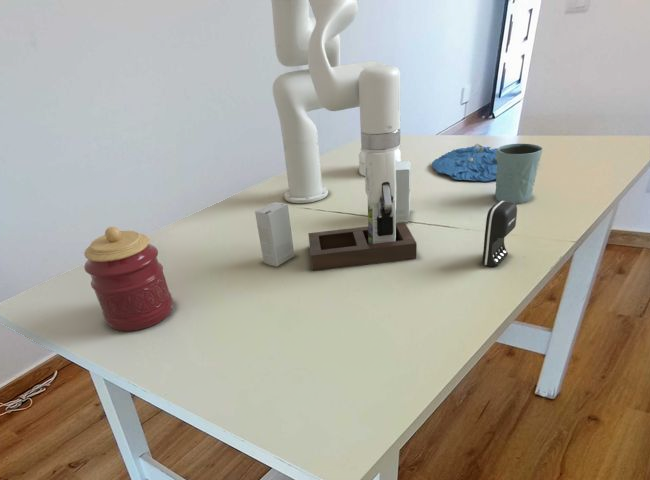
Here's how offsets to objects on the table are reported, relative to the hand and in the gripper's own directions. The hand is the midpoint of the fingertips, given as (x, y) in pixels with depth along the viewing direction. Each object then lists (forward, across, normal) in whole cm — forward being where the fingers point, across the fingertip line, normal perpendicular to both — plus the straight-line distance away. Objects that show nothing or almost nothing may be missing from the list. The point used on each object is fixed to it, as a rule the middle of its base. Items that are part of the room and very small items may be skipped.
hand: (382, 227), depth 106 cm
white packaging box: (+5, -18, +6) cm, 20 cm away
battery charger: (+5, +11, +21) cm, 24 cm away
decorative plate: (+5, -50, +39) cm, 64 cm away
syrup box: (+5, 0, 0) cm, 5 cm away
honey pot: (+5, -58, +9) cm, 59 cm away
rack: (+5, 0, -5) cm, 7 cm away
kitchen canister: (+5, +16, -50) cm, 53 cm away
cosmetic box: (+5, -1, -23) cm, 23 cm away
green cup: (+5, -22, +37) cm, 43 cm away
